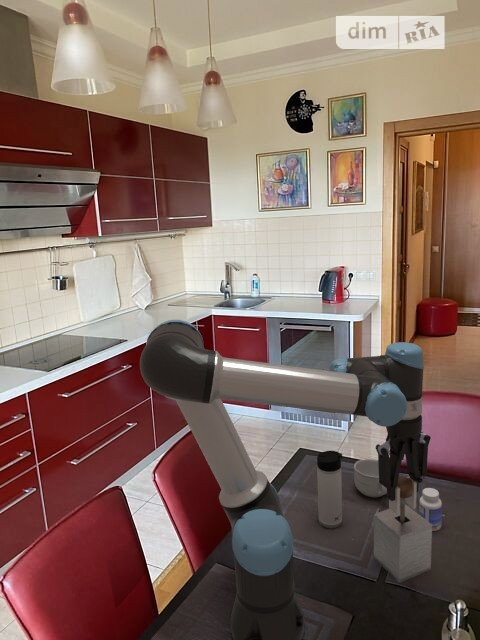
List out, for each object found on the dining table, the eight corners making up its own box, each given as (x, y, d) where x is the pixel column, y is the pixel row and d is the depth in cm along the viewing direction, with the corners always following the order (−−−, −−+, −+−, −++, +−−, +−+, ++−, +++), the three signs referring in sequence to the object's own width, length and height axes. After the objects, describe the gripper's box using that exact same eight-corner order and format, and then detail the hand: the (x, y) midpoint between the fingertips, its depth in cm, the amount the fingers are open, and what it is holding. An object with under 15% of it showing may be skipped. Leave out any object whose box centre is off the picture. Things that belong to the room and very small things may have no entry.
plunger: (400, 564, 111) (401, 492, 107) (381, 546, 117) (381, 477, 113) (423, 554, 113) (425, 484, 109) (403, 537, 119) (404, 470, 115)
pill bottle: (443, 522, 129) (444, 489, 127) (437, 534, 125) (439, 500, 123) (422, 516, 133) (423, 483, 130) (416, 527, 128) (416, 493, 126)
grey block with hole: (399, 583, 110) (399, 536, 107) (367, 551, 120) (367, 508, 118) (430, 570, 113) (432, 524, 111) (397, 540, 124) (398, 498, 121)
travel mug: (343, 529, 129) (342, 460, 125) (318, 528, 130) (316, 459, 126) (343, 515, 135) (342, 448, 130) (319, 513, 136) (317, 447, 132)
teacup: (351, 481, 151) (350, 458, 149) (387, 480, 150) (387, 456, 148) (360, 509, 137) (360, 483, 135) (399, 508, 137) (400, 482, 135)
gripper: (382, 428, 101) (382, 528, 106) (447, 411, 107) (443, 506, 112) (360, 415, 108) (361, 510, 113) (422, 399, 114) (420, 490, 119)
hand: (402, 508), depth 112 cm, fingers closed on plunger, 4 cm apart
